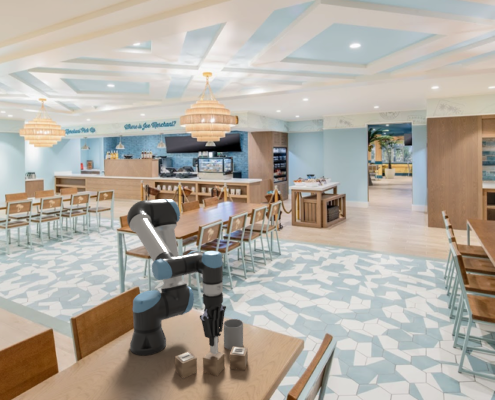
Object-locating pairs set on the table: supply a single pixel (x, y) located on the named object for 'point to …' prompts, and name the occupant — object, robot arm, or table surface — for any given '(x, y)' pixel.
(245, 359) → the numbered block
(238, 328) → the cup
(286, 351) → the table surface
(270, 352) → the table surface
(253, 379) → the table surface
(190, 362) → the numbered block
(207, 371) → the plain block
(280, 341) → the table surface
